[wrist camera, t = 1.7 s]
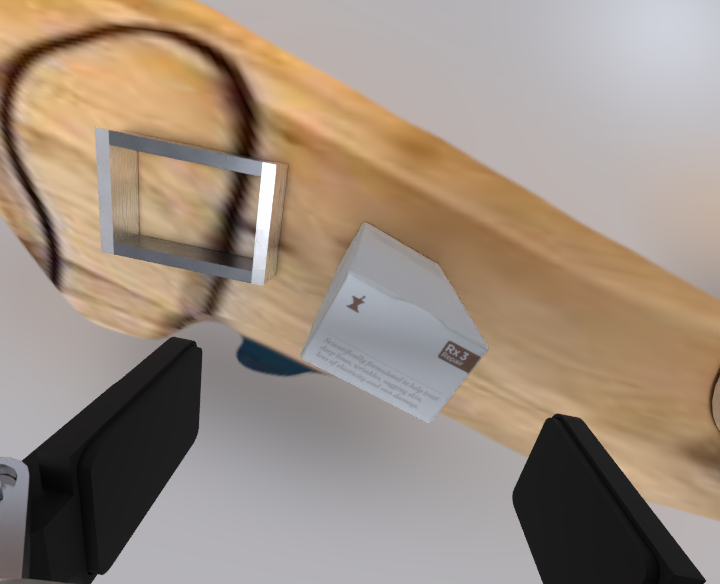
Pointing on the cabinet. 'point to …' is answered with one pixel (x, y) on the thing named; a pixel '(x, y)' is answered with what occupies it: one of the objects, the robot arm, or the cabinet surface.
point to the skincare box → (394, 327)
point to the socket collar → (124, 240)
